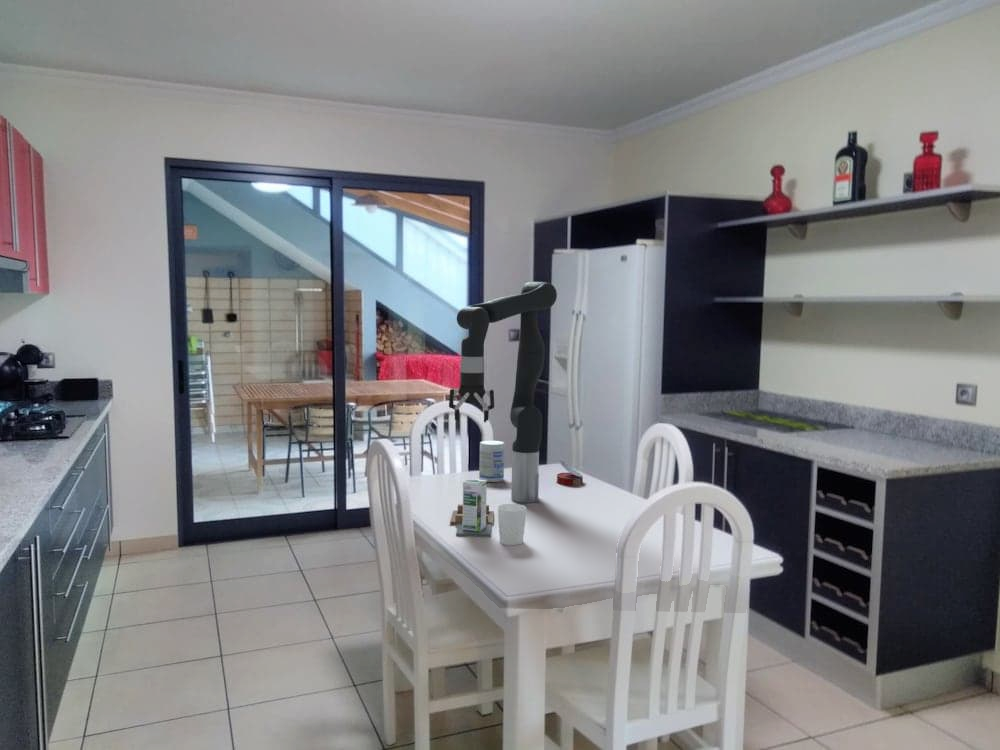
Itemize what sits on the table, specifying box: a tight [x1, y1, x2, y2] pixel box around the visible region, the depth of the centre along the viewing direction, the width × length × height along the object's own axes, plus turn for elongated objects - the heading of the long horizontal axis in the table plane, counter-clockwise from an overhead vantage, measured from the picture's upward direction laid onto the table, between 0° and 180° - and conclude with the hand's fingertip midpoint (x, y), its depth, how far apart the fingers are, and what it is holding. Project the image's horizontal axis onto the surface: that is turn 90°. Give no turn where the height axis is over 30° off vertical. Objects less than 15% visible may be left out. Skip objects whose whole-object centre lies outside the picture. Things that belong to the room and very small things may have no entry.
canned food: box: [556, 460, 584, 487], centre depth 278 cm, size 11×10×10 cm
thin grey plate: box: [455, 523, 492, 538], centre depth 215 cm, size 10×10×1 cm
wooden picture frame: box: [449, 503, 495, 527], centre depth 227 cm, size 13×12×3 cm
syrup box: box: [462, 478, 488, 532], centre depth 215 cm, size 6×6×14 cm
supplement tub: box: [478, 440, 505, 483], centre depth 280 cm, size 10×10×15 cm
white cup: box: [497, 503, 527, 546], centre depth 206 cm, size 8×8×10 cm
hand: (471, 421), depth 230 cm, fingers open, 8 cm apart
